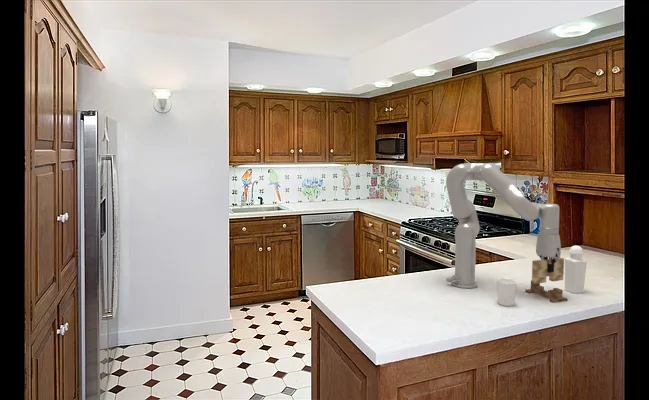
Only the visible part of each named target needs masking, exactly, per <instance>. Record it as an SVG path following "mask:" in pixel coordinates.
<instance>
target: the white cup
mask: <svg viewBox="0 0 649 400" xmlns="http://www.w3.org/2000/svg"><path fill="white" fill-rule="evenodd" d="M517 283H518V282H517V281H516V280H514V279H512V278H498V279H497V280H496V291H497V294H496V296H497V304H499V305H501V306H505V307H513V306H514V305H515V303H516V302H515V301H516V300H515V299H516V294H517V285H518V284H517Z"/></svg>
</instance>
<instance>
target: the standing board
mask: <svg viewBox="0 0 649 400" xmlns="http://www.w3.org/2000/svg"><path fill="white" fill-rule="evenodd" d="M563 292H564V290H563V289H561V288H558V287H555V288H552V289H548V290H545V287H544V286H543V285H541V283H538V284H535V283H532V279H531V280H530V289H525V293H527V294H533V293H534V294H537V295H539V296H542V297H545V298H547V299H549V300H548V301H549V302H550V303H554V304H555V303H560V302H567V301H568V298H567V297H564V296H563V294H564V293H563Z"/></svg>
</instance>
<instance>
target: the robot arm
mask: <svg viewBox="0 0 649 400" xmlns="http://www.w3.org/2000/svg"><path fill="white" fill-rule="evenodd" d="M467 181H483V182H484V183H485V184H486V185H488V186H489V188H491V189H492V190H493V191H494V192H495V193H496V194H497V195H499V196H500V198H501V199H502V200H503V201H504V202H505V203H506V204H507V205H508V206H509V207H510V208H511V209H512V210H513V211H514V212H515V213H516V214H518V216H520V218H522V219H523V220H525V221H528V222H532V221H535V220H537V219H539V221H540V222H539V232H538V234H537V238H536V244H535V253H536V256H538V257H539V259H540V260H543V259H549V264H548V269H547V272H548V273H550V272H554V264H555V263H556V262H557V261H559V260H561V258H562V257H561V252H562V251H561V250H562V248H561V247H562V244H561V239H560V238H561V237H560V234H559V231H560V206H559V204H555V203H541V202H540V203H538V202H533V201H532V202H531V201H530V200H529V199H528V198H527V197H526V196H524V194H523V193H522V192H521V191H520V190H519V189H518V187H517V185H516V183H515V182H514V181H513V180H512V179H510V178H509V177H508V176H507V175H506V174H505V173H503V172H502V170H501V169H500V167H499V166H498V165H497V164H496V163H494V162H488V163H487V162H485V163H483V162H482V163H480V162H479V163H478V162H477V163H476V162H475V163H473V162H472V163H471V162H469V163H467V162H466V163H458V164H456V165H455V166H453V168H451V169H450V170H449V172H448V173H447V175H446V179H445V185H446V191H447V195H448V200H449V201H448V202H449V205H450V209H451V213H452V215H453V217H454V218H456V219H457V220H458V225H457V226H456V227H455V229H454V239H455V241H454V242H455V246H454V247H455V250H454V253H455V254H454V255H455V257H454V258H455V260H454V274H453V275H452V277H446V278H445V281H446V282H447V283H451V285H452V286H454V287H457V288H463V289H474V288H478V286H479V283H478V282H477V281H476V280H475V279H476V255H477V253H476V251H477V250H476V249H477V247H476V243H477V242H476V237H477V236H479V235H478V234H479V233H480V230H481V229H480V228H481V227H480V223H479V218H478V213H477V210H476V207H475V205H474V203H473V201H472V200H470V199H469V198H468V195H467V191H466V187H465V182H467ZM552 258H553V259H552Z"/></svg>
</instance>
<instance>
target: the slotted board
mask: <svg viewBox="0 0 649 400" xmlns="http://www.w3.org/2000/svg"><path fill="white" fill-rule="evenodd" d="M560 258H561V260H559V261H557V262H556V263H555V264H554V272H550V273H548V272H547V269H548V264H549V258H548V259H543V260H541V259H536V260H535V259H534V260H532V262H531V263H532V264H531V266H532V267H531V268H532V269H531V280H532V283H535V284H538V283H540V284H543V283H545V284H546V283H547V277H548V281H551V282H558V281H559V282H560V281H563V280H564V276H565V258H564V257H560ZM552 259H553V258H552Z"/></svg>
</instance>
